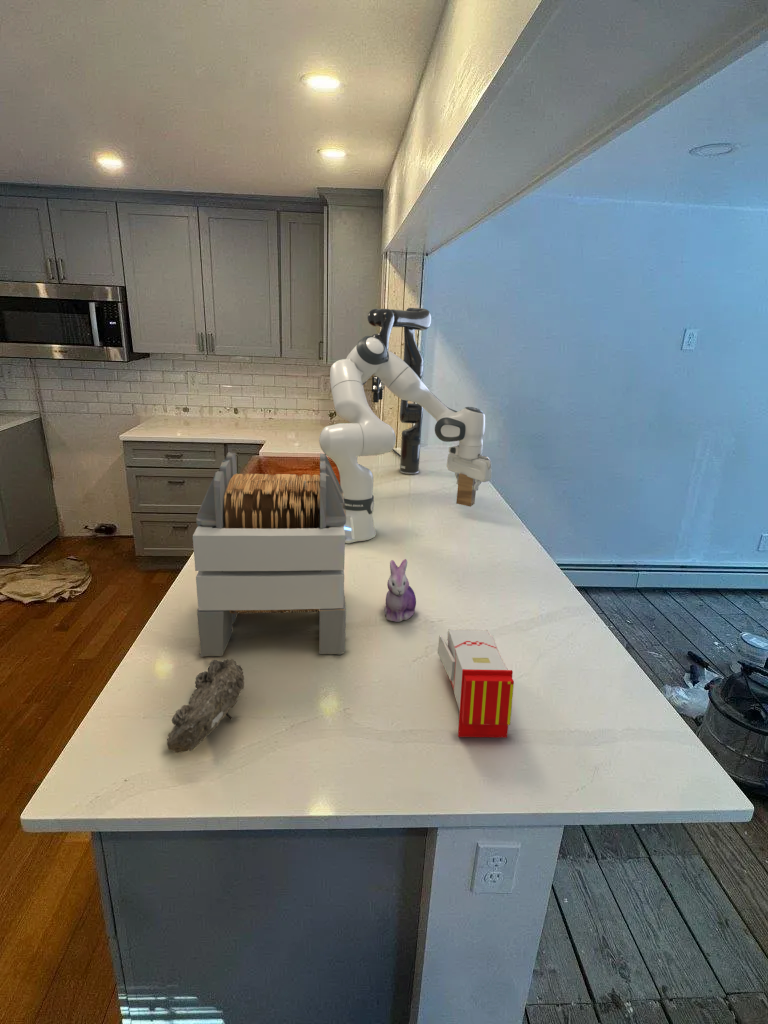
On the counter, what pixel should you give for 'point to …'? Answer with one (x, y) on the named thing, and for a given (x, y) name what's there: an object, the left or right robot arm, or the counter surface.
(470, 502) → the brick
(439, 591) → the counter surface
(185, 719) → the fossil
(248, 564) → the record crate
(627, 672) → the counter surface
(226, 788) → the counter surface
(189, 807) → the counter surface
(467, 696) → the toy
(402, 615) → the figurine
